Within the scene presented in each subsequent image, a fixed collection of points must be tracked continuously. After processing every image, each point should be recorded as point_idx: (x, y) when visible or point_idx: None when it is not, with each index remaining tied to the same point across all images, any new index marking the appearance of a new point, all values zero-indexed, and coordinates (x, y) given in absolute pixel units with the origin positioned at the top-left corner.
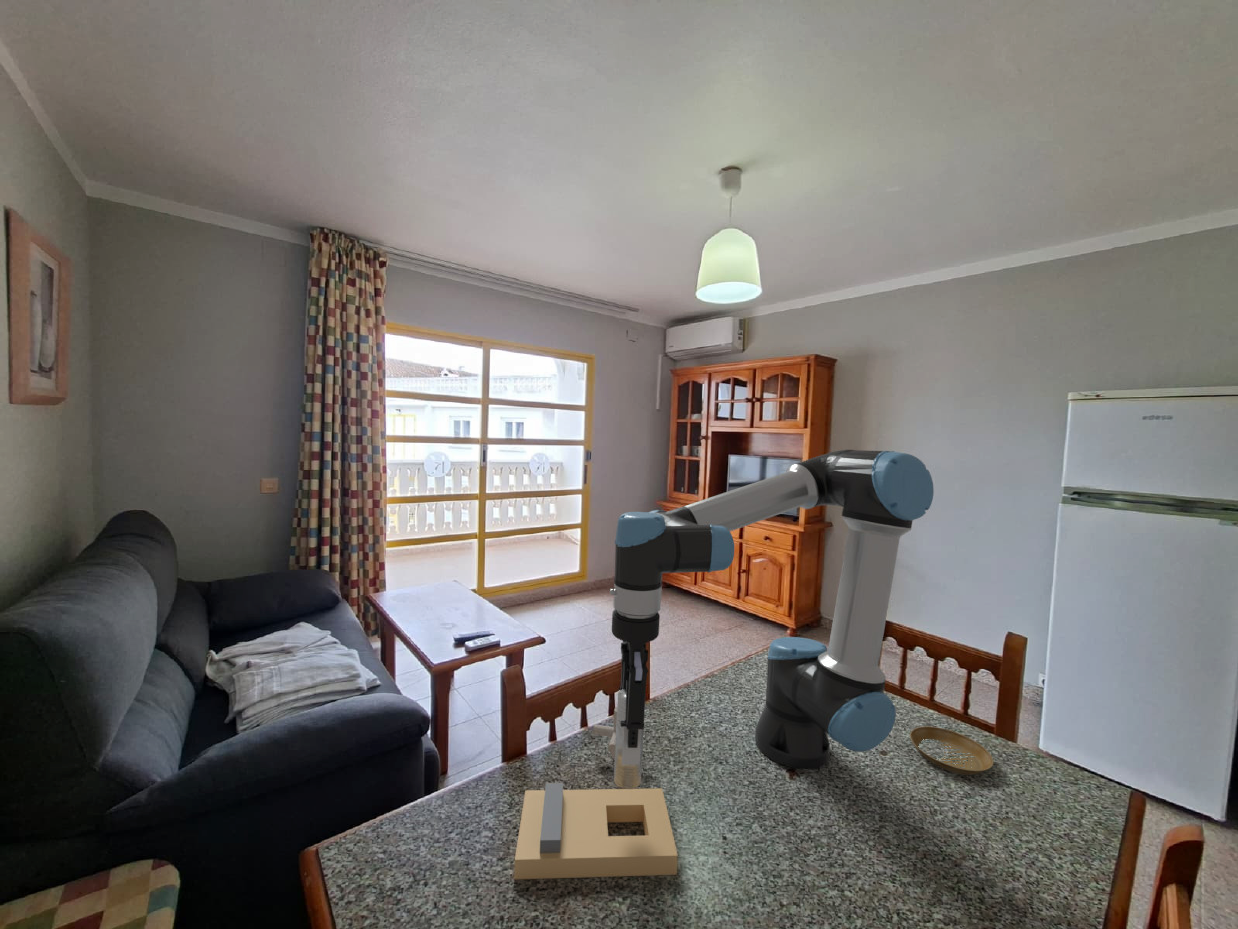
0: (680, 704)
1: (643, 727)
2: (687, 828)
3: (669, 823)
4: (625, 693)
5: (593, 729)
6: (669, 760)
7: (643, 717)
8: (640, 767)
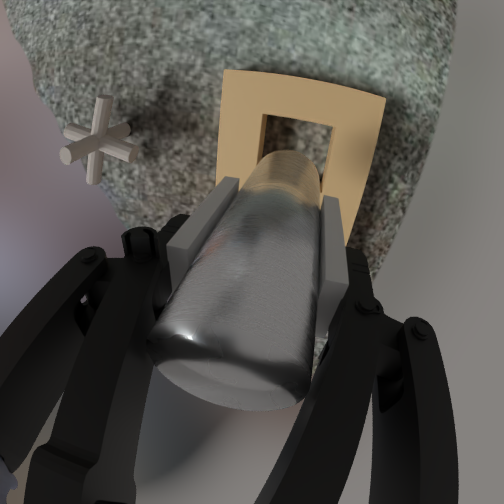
0: (35, 36)
1: (434, 333)
2: (293, 43)
3: (316, 81)
4: (208, 387)
5: (95, 184)
6: (133, 44)
7: (443, 377)
8: (307, 172)
